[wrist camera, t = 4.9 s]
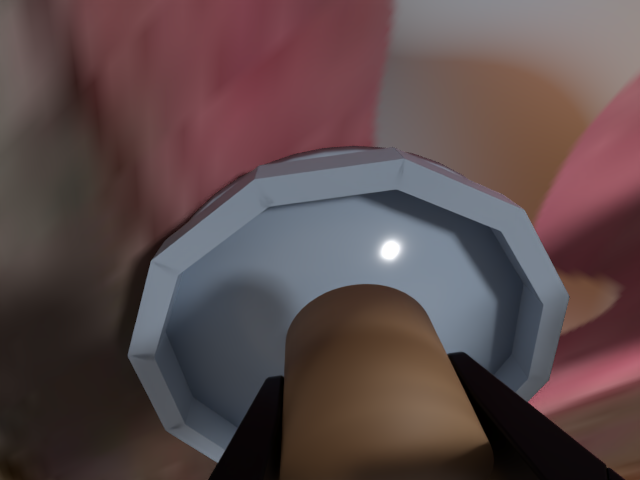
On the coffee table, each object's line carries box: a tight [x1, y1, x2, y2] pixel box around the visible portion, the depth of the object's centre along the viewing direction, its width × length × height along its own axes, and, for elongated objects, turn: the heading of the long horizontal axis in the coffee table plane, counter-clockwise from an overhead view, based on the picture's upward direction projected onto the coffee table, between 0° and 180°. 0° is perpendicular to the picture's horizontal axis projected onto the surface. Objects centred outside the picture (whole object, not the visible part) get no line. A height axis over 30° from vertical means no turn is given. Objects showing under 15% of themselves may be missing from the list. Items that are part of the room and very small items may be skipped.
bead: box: [280, 284, 494, 480], centre depth 8 cm, size 4×4×4 cm
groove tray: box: [128, 146, 569, 463], centre depth 17 cm, size 18×18×3 cm
